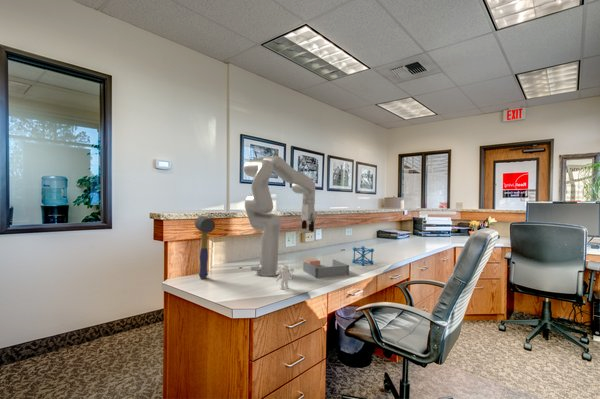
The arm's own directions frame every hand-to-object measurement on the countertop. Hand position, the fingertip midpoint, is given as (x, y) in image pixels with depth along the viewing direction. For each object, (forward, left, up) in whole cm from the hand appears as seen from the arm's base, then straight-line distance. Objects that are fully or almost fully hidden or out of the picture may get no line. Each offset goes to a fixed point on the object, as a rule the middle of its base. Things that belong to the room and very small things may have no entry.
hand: (307, 229), depth 189 cm
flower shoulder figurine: (-33, -42, -21) cm, 57 cm away
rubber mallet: (-64, -14, -21) cm, 68 cm away
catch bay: (-1, -24, -20) cm, 31 cm away
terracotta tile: (-1, -9, -21) cm, 22 cm away
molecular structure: (+33, -13, -21) cm, 41 cm away
